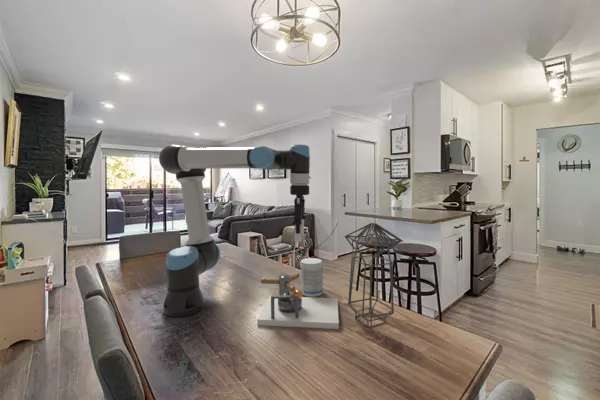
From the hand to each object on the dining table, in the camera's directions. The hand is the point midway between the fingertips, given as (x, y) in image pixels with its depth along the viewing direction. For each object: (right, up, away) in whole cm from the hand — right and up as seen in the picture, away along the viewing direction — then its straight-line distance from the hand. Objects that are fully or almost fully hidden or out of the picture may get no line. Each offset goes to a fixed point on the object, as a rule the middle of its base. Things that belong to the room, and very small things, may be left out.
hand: (299, 238), depth 113 cm
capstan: (-7, -25, -6) cm, 27 cm away
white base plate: (0, -28, -7) cm, 28 cm away
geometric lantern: (+26, -28, -11) cm, 40 cm away
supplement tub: (+5, -26, +12) cm, 29 cm away
